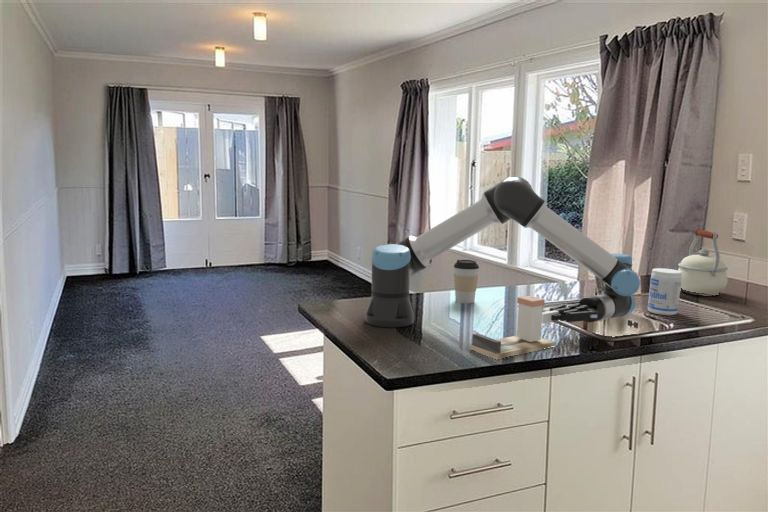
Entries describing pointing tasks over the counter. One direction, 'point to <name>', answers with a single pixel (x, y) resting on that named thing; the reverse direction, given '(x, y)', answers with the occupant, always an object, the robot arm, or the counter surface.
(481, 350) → the board
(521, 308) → the block
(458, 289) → the coffee cup
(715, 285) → the kettle
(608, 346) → the counter surface
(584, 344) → the counter surface
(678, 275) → the supplement tub
